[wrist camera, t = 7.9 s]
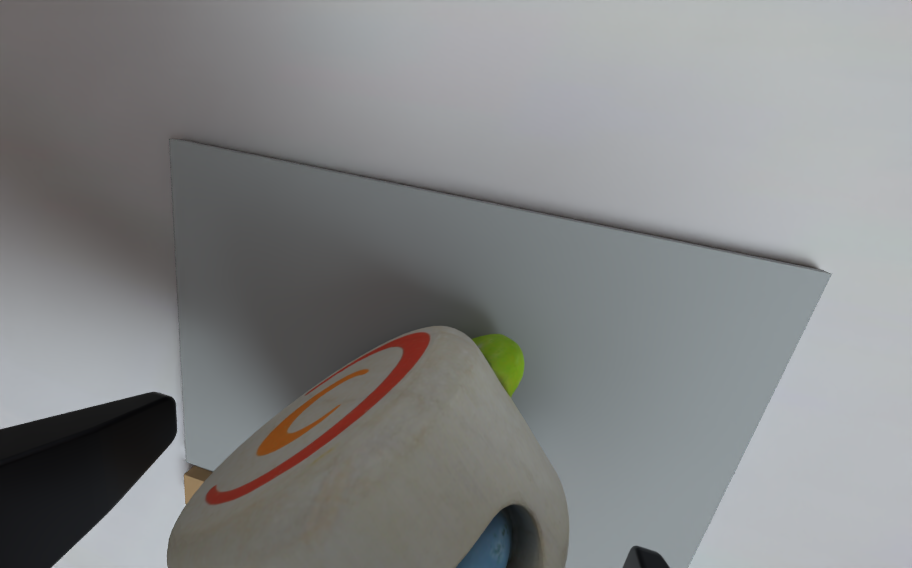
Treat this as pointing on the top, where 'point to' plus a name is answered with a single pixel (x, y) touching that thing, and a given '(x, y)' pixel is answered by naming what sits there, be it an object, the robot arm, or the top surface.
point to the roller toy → (388, 471)
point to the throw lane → (486, 329)
